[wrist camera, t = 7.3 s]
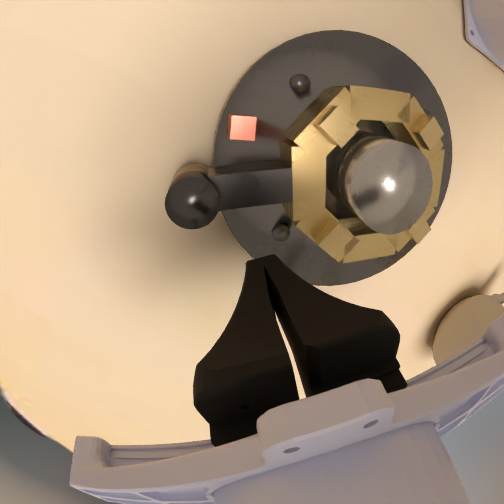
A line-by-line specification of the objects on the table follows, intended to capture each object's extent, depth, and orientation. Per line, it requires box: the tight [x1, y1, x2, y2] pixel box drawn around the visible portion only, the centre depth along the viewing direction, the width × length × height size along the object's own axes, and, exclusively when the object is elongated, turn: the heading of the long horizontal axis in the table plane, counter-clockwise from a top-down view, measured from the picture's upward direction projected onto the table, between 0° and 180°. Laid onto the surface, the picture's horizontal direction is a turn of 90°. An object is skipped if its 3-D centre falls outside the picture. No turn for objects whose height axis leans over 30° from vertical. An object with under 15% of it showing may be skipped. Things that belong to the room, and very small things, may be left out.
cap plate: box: [213, 30, 452, 286], centre depth 14 cm, size 16×16×5 cm
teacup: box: [433, 293, 504, 365], centre depth 23 cm, size 14×11×8 cm
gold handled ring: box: [165, 85, 445, 263], centre depth 13 cm, size 15×9×3 cm, turn 94°
